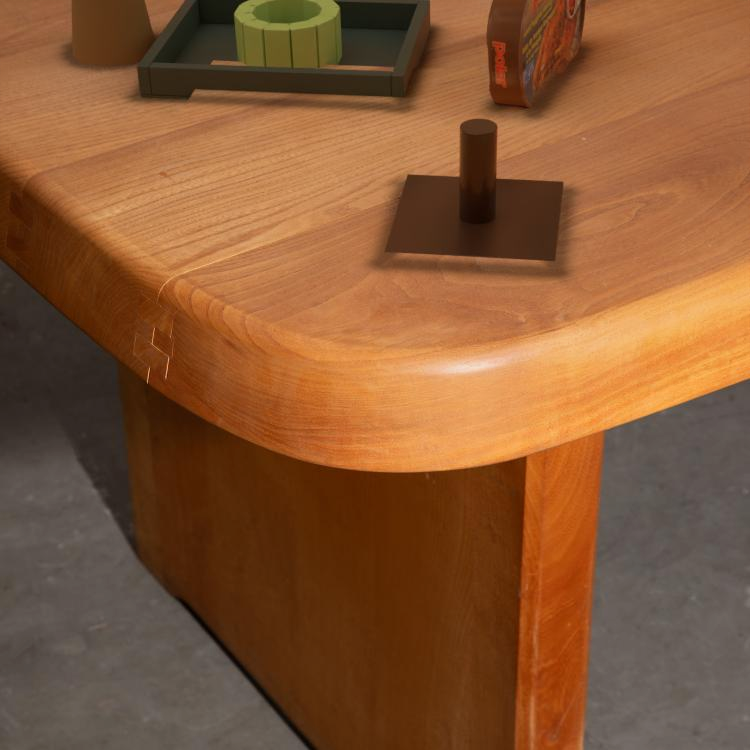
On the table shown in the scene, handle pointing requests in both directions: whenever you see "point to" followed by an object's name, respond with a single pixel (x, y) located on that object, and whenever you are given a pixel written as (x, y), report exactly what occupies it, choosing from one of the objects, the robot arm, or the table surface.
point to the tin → (530, 45)
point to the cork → (110, 31)
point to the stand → (477, 208)
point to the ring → (288, 33)
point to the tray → (218, 43)
